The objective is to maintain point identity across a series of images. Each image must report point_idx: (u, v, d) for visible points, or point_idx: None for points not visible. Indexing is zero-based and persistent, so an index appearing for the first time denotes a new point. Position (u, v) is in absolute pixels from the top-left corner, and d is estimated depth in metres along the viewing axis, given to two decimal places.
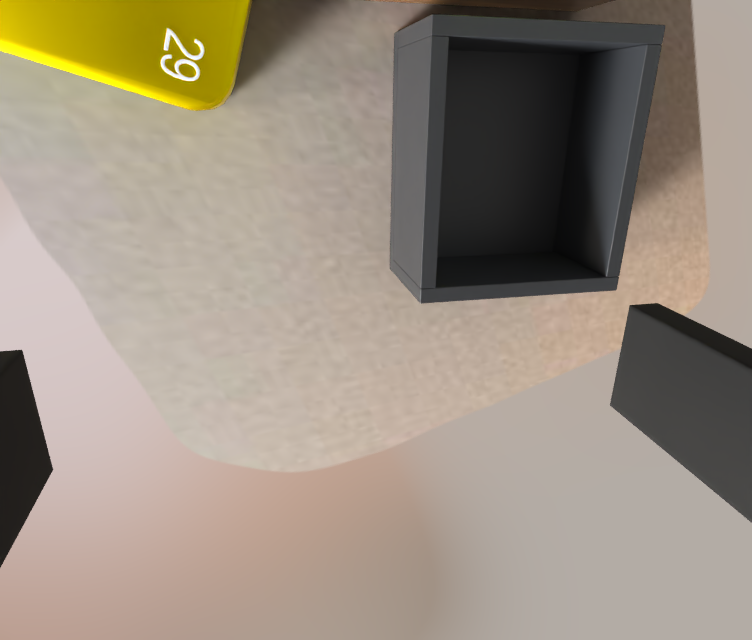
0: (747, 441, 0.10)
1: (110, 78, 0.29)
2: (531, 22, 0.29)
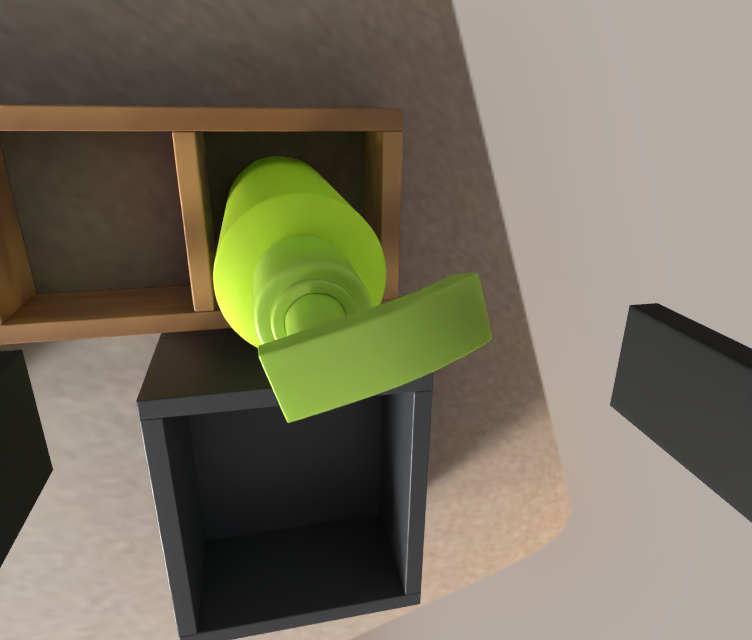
0: (747, 440, 0.10)
1: None
2: (264, 392, 0.25)
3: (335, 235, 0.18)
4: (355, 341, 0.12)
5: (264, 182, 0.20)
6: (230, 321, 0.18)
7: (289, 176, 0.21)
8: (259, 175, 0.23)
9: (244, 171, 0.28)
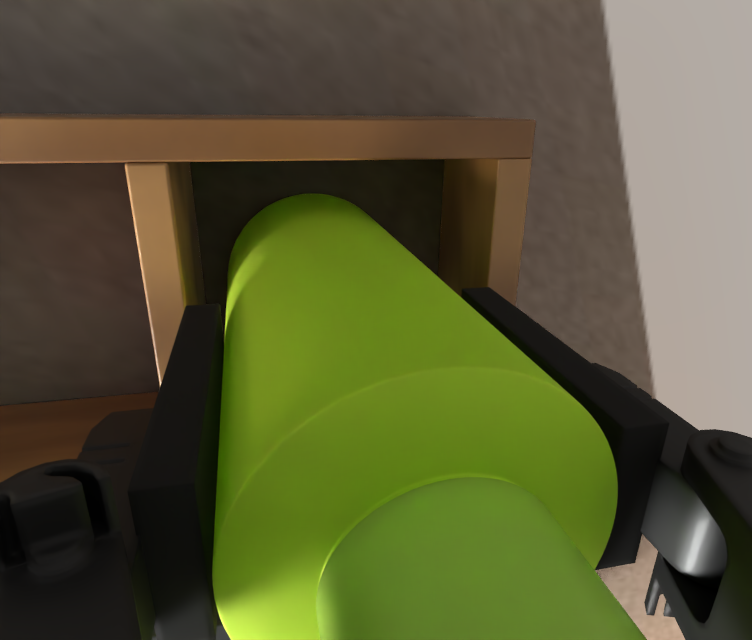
0: None
1: None
2: None
3: (526, 463, 0.07)
4: None
5: (317, 285, 0.10)
6: None
7: (366, 268, 0.10)
8: (295, 250, 0.12)
9: (258, 222, 0.17)
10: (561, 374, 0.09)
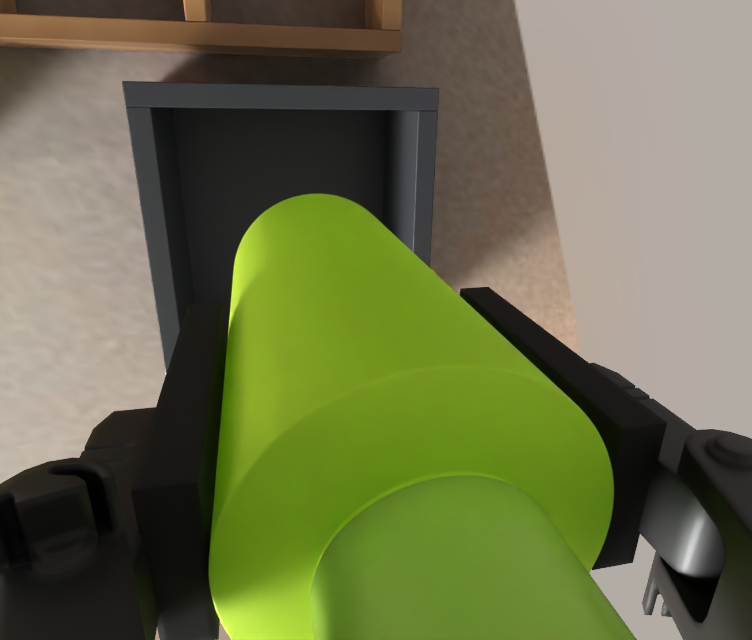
0: None
1: None
2: (259, 88, 0.24)
3: (520, 462, 0.07)
4: None
5: (317, 284, 0.10)
6: None
7: (367, 267, 0.10)
8: (298, 250, 0.12)
9: (263, 222, 0.17)
10: (559, 374, 0.09)
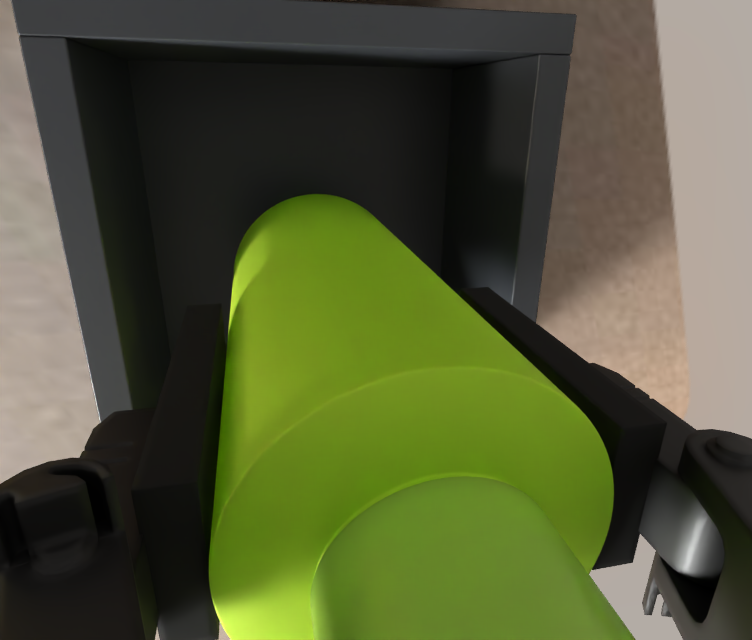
0: None
1: None
2: (267, 6, 0.13)
3: (520, 463, 0.07)
4: None
5: (317, 284, 0.10)
6: None
7: (367, 268, 0.10)
8: (298, 251, 0.12)
9: (263, 223, 0.17)
10: (559, 374, 0.09)
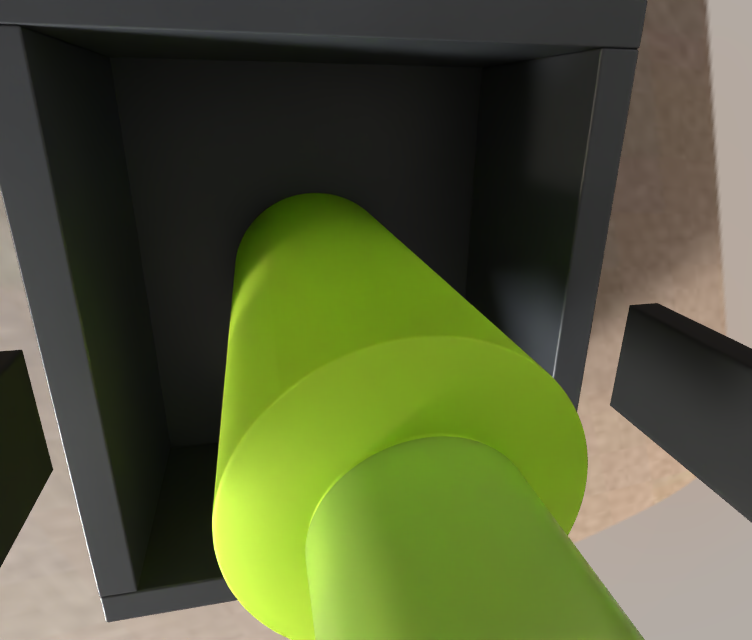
0: (747, 441, 0.10)
1: None
2: None
3: (497, 426, 0.08)
4: None
5: (313, 271, 0.10)
6: (251, 608, 0.08)
7: (360, 256, 0.11)
8: (296, 243, 0.13)
9: (263, 220, 0.17)
10: None
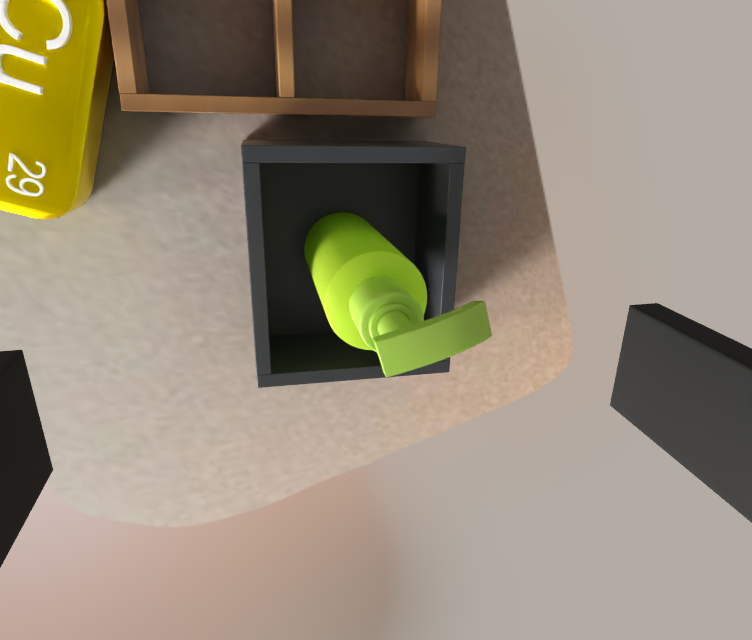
0: (747, 440, 0.10)
1: None
2: (336, 149, 0.33)
3: (398, 275, 0.29)
4: (423, 335, 0.24)
5: (348, 239, 0.32)
6: (333, 327, 0.30)
7: (363, 235, 0.33)
8: (339, 232, 0.35)
9: (320, 224, 0.39)
10: None
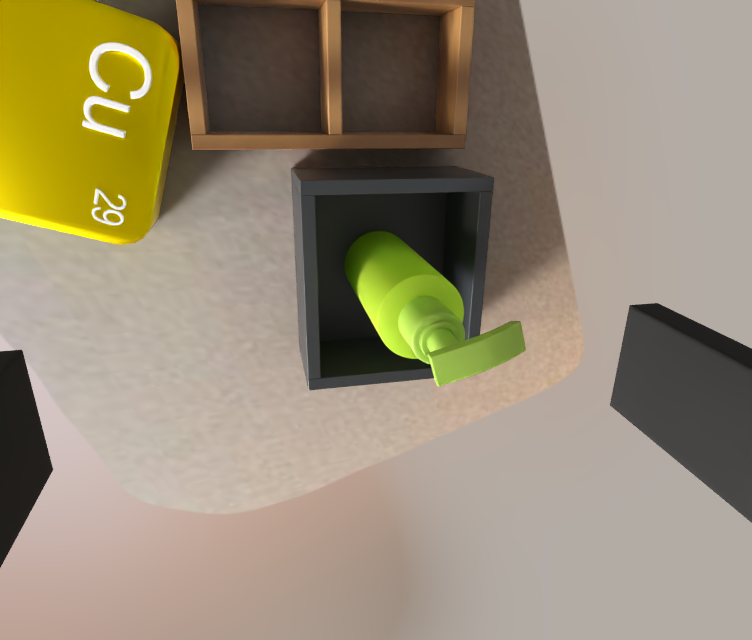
0: (747, 440, 0.10)
1: (52, 225, 0.37)
2: (381, 181, 0.37)
3: (440, 295, 0.34)
4: (470, 351, 0.28)
5: (393, 261, 0.37)
6: (383, 339, 0.35)
7: (405, 257, 0.37)
8: (382, 253, 0.39)
9: (360, 242, 0.44)
10: None
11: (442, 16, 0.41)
